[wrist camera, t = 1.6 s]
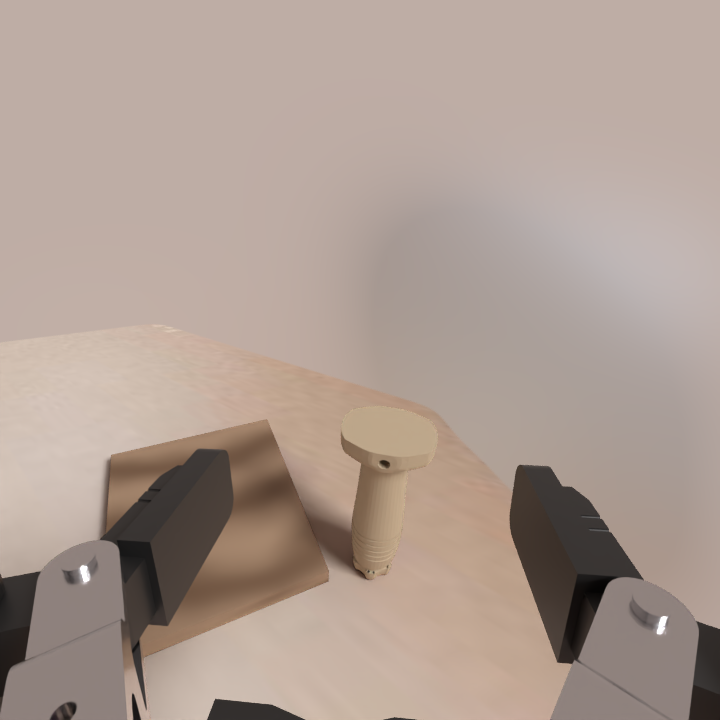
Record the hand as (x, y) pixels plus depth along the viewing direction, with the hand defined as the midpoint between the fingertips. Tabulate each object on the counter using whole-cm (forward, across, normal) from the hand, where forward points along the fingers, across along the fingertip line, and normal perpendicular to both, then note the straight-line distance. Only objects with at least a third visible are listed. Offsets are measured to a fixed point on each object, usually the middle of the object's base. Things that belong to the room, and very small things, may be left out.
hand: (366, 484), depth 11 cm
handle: (+18, +1, +21) cm, 27 cm away
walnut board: (+20, +16, +19) cm, 32 cm away
